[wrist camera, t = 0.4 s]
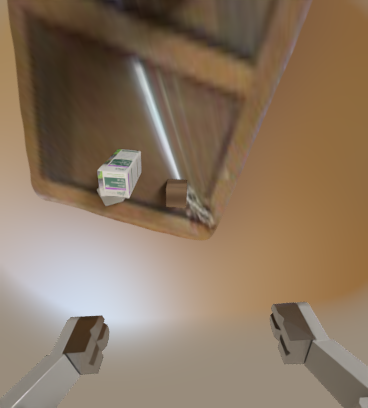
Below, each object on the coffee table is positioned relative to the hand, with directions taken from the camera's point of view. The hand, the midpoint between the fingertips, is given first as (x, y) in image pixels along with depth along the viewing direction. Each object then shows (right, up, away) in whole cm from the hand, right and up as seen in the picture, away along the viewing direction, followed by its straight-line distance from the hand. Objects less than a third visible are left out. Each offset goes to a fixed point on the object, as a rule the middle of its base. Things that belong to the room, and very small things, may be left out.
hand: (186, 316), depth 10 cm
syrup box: (-14, +16, +43) cm, 48 cm away
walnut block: (-2, +10, +46) cm, 47 cm away
